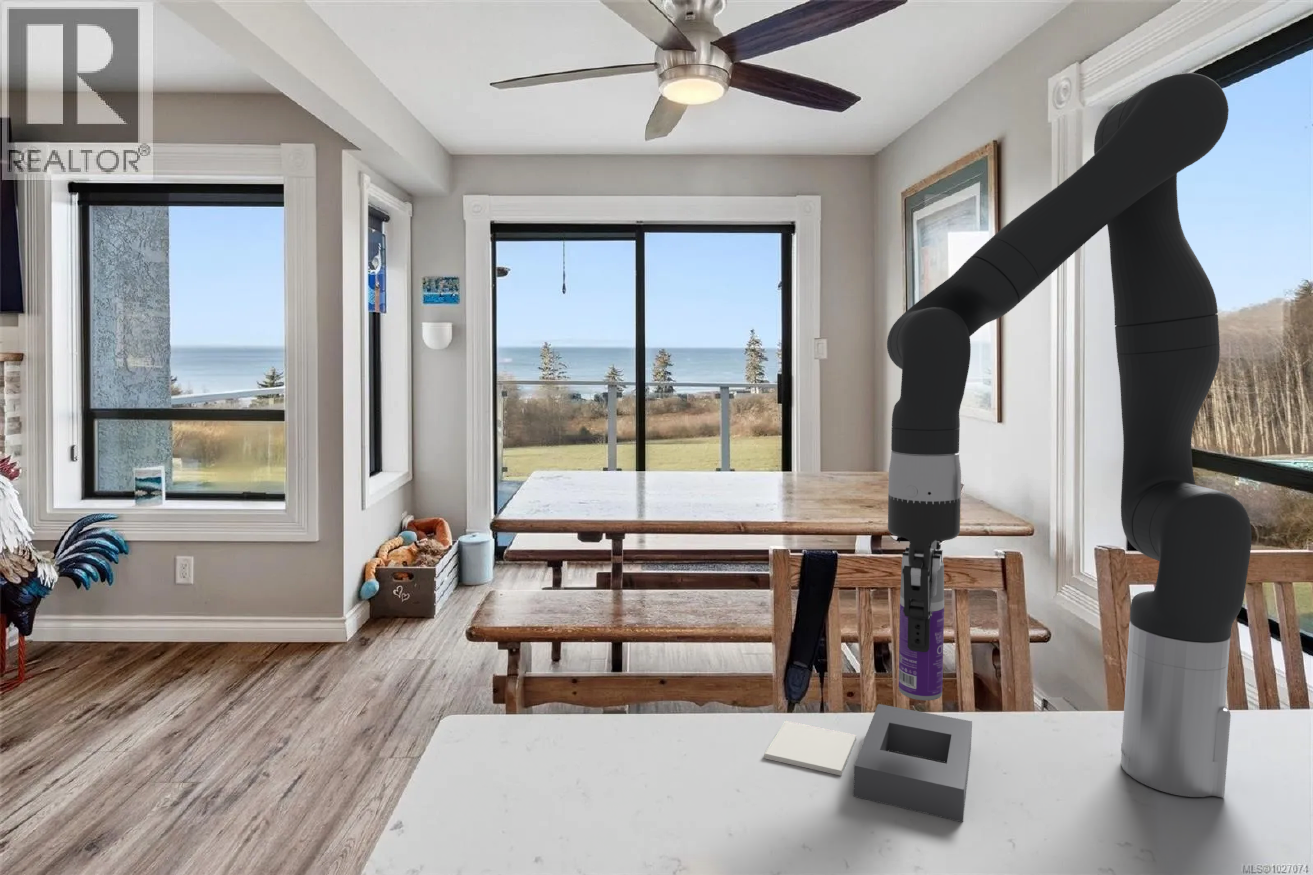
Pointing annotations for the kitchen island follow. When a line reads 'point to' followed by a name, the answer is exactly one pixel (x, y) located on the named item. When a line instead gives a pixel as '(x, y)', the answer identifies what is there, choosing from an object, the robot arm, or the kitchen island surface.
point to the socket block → (915, 762)
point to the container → (923, 668)
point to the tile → (811, 747)
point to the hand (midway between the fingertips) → (921, 641)
